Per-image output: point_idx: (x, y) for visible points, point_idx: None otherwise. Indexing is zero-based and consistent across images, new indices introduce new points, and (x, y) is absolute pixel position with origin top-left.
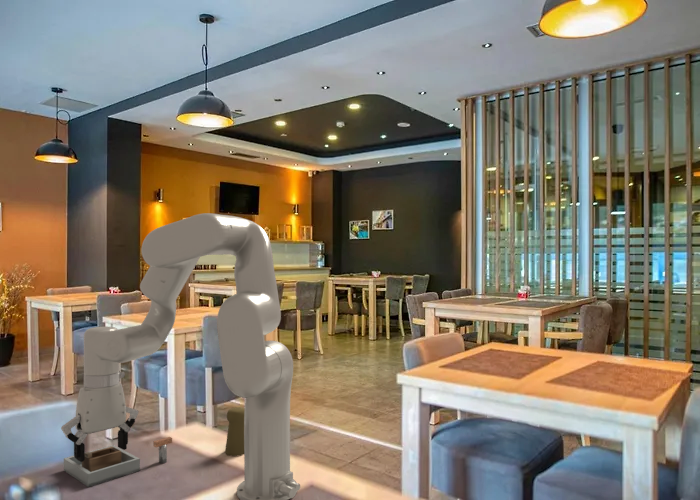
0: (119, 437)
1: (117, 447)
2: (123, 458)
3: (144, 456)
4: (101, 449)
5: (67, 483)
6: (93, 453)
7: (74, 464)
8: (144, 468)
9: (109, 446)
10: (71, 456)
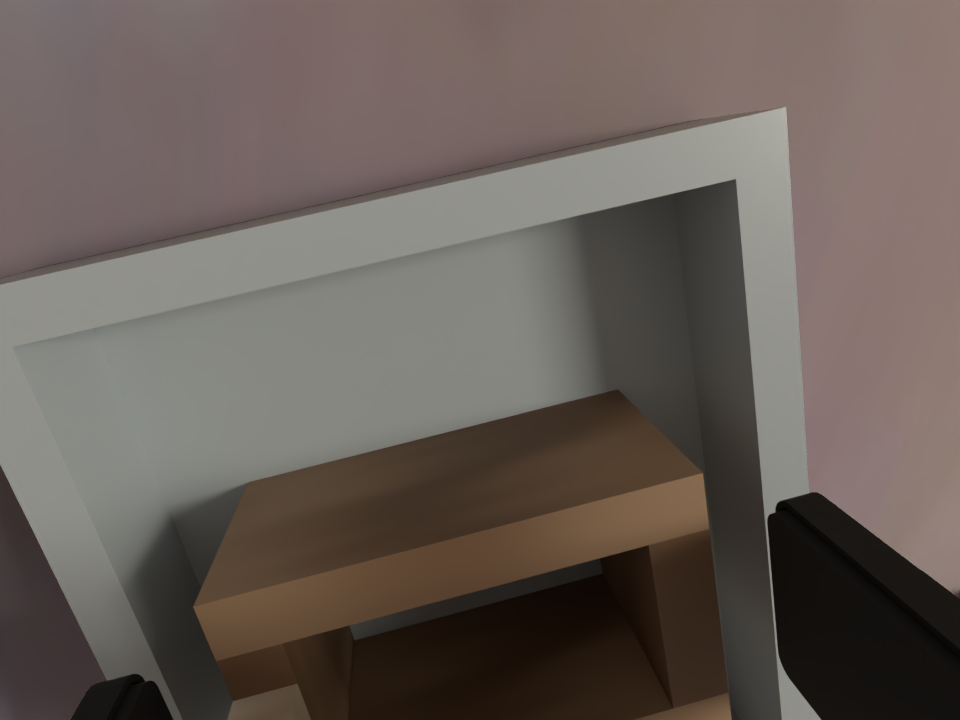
0: (891, 682)
1: (787, 288)
2: (728, 512)
3: (950, 362)
4: (521, 532)
5: (92, 679)
6: (379, 610)
7: (108, 653)
8: None
9: (710, 153)
10: (57, 279)
